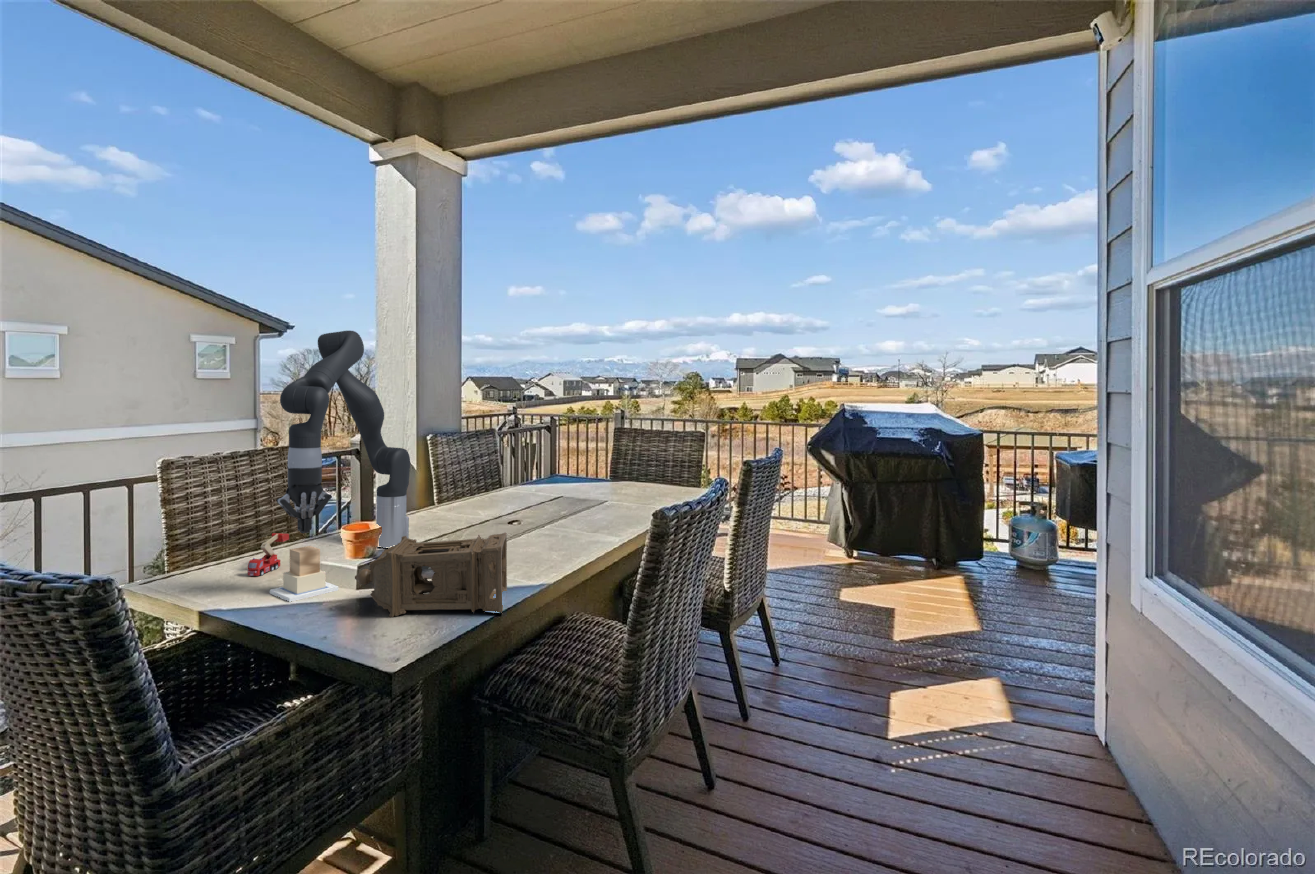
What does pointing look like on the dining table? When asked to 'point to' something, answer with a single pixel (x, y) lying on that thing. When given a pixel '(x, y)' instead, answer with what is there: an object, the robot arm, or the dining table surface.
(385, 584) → the brown stone lantern
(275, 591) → the board
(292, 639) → the dining table surface
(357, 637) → the dining table surface
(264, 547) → the toy fire truck
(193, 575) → the dining table surface
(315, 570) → the oak block
